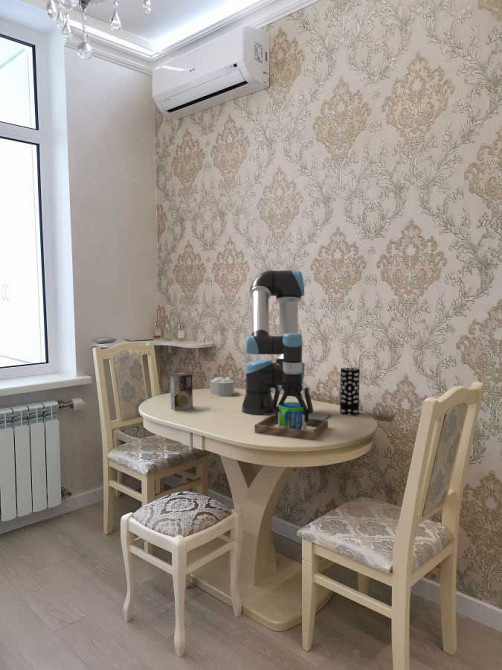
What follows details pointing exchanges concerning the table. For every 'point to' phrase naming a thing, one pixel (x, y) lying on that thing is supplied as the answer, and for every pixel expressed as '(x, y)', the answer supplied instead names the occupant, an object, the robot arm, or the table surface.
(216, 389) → the lumpy-topped squat cylinder
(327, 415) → the slate mat
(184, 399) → the coffee box
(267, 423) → the wooden frame
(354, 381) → the spotted tube
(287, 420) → the snack cup
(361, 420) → the table surface
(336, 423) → the table surface
